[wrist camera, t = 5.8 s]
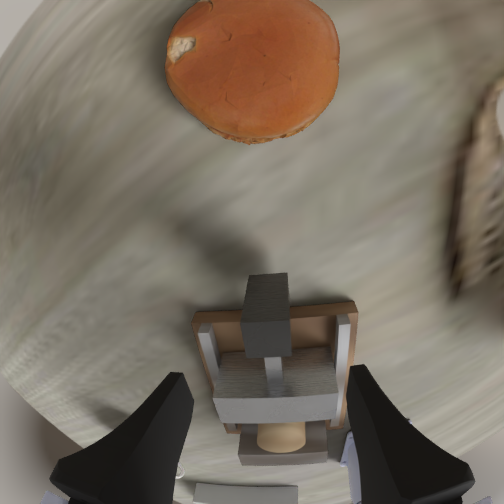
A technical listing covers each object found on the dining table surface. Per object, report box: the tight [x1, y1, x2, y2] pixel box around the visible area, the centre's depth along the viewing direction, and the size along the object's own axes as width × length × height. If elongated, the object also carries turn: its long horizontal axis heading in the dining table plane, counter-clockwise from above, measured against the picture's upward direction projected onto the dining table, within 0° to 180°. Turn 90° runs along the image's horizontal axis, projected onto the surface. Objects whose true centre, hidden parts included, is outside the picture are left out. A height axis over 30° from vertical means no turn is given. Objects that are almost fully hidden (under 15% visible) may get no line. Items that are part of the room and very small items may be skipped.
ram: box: [213, 273, 339, 424], centre depth 18 cm, size 9×8×5 cm
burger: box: [165, 0, 340, 145], centre depth 13 cm, size 10×9×5 cm
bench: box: [191, 301, 358, 466], centre depth 22 cm, size 15×12×6 cm
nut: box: [257, 422, 306, 453], centre depth 23 cm, size 4×4×4 cm
